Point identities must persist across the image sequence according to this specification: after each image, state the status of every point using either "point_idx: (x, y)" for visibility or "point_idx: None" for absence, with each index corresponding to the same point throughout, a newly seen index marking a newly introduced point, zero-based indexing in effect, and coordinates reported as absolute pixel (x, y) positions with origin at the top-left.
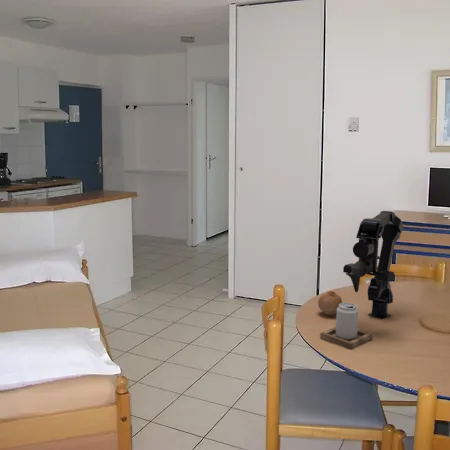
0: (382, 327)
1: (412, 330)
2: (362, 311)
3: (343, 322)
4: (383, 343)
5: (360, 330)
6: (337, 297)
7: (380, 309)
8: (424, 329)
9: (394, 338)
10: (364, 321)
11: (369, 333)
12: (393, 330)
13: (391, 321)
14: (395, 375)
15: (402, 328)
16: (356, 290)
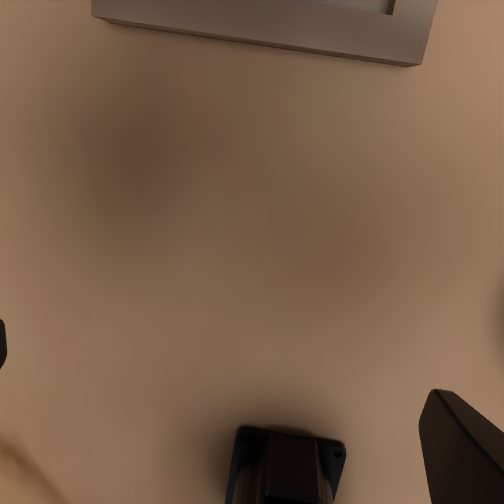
0: (172, 301)
1: (12, 360)
2: (405, 483)
3: None
4: (7, 4)
5: (211, 28)
6: None
7: (257, 488)
8: None
9: (10, 160)
10: (321, 333)
11: (116, 11)
12: (92, 294)
13: (179, 425)
14: None
15: (71, 357)
16: (440, 415)
